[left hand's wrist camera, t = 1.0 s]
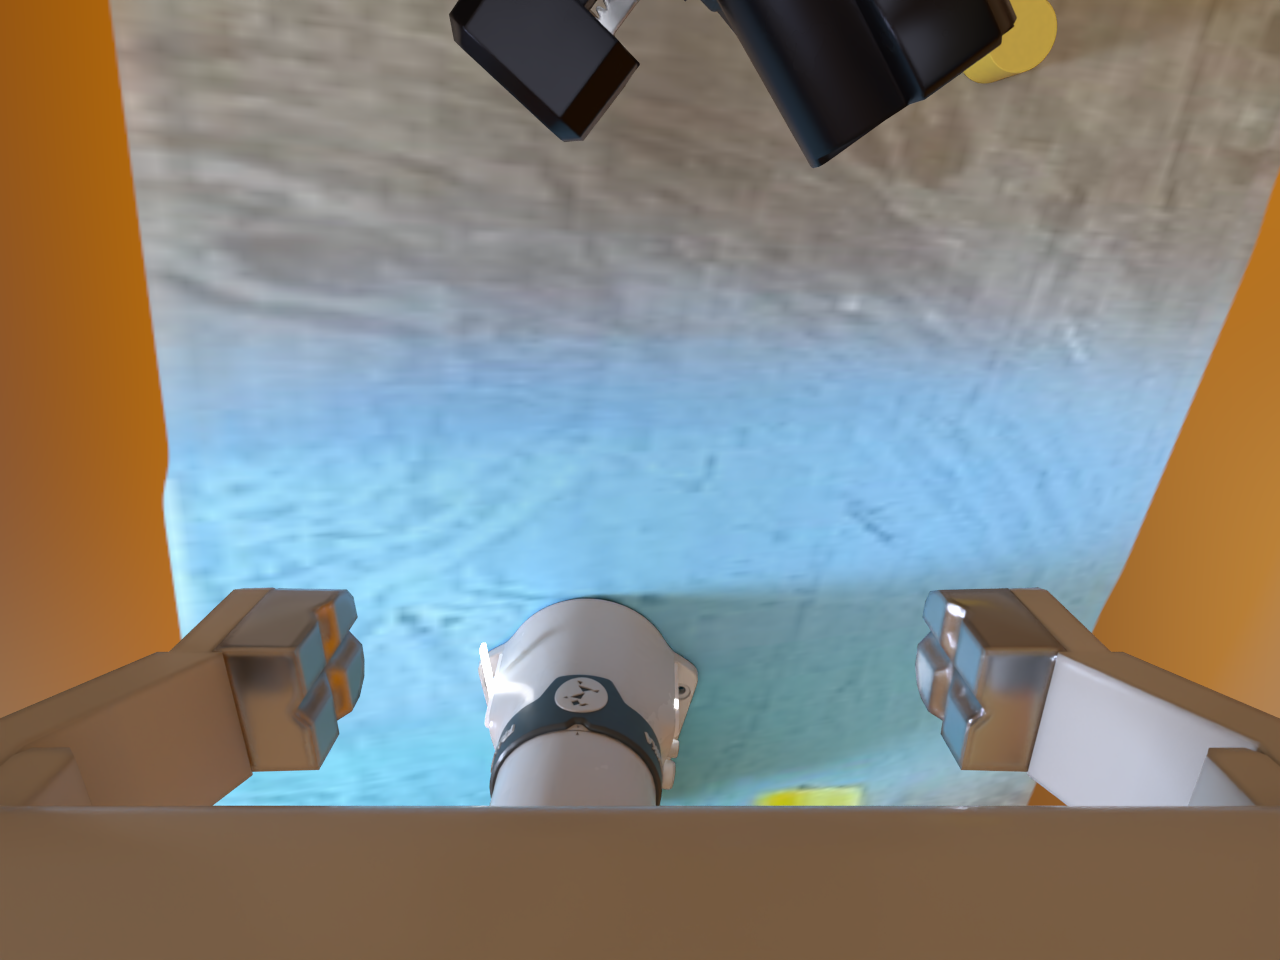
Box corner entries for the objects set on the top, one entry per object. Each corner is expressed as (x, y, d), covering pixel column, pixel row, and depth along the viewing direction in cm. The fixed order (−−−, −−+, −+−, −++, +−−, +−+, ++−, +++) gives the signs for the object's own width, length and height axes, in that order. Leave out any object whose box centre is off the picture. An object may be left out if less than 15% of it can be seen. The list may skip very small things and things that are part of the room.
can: (1013, 84, 46) (1047, 74, 43) (952, 82, 46) (980, 71, 42) (1028, 12, 45) (1065, -6, 41) (964, 9, 45) (995, -9, 41)
